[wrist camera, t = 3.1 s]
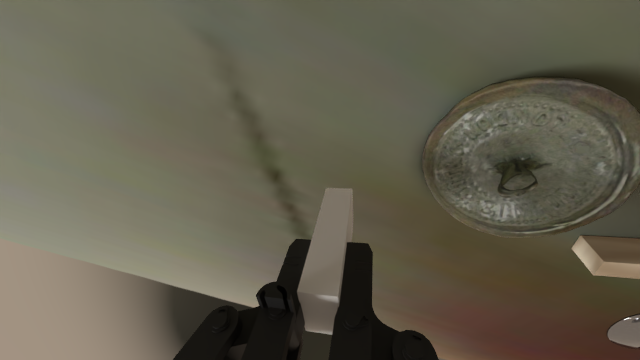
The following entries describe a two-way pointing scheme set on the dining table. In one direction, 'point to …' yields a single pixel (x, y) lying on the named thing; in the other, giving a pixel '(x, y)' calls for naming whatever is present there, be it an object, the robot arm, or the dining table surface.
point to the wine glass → (626, 332)
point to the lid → (534, 156)
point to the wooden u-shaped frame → (609, 255)
